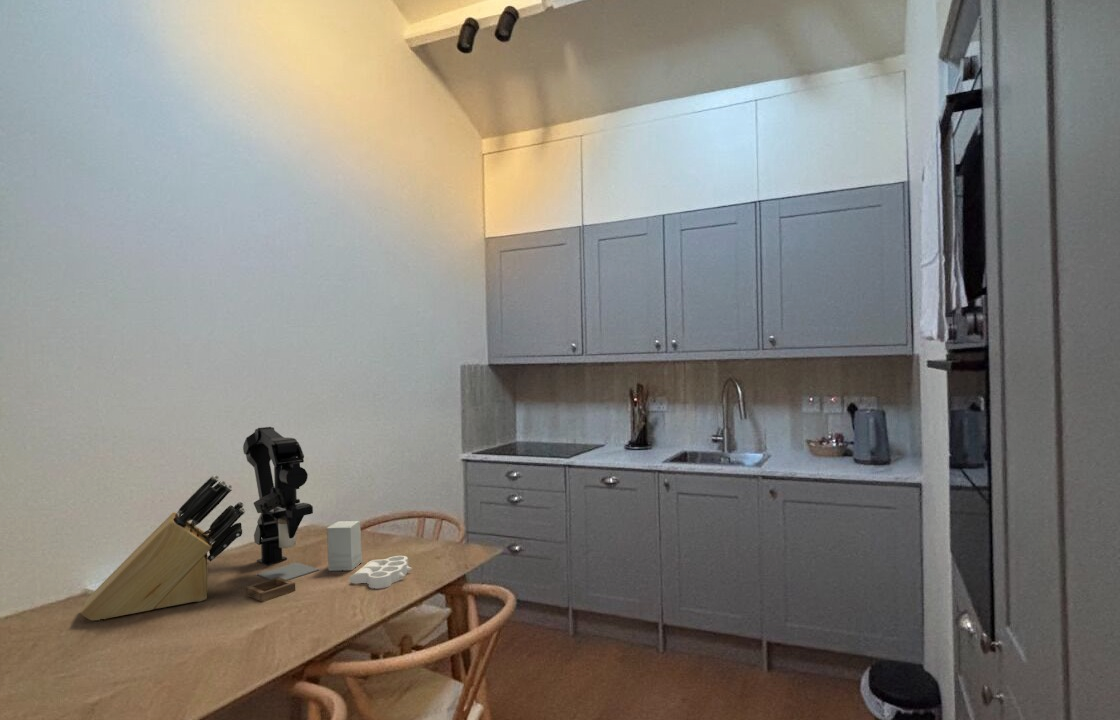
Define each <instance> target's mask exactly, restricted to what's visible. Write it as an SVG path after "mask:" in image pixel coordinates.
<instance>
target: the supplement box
mask: <svg viewBox="0 0 1120 720" xmlns="http://www.w3.org/2000/svg"><path fill="white" fill-rule="evenodd" d="M361 531H362V530H361V521H360V520H353V521H352V520H351V521H350V520H349V521H347V520H345V521H341V520H340V521H339V520H338V521H336V522H334V523H333V524H331V525H329V526H328V527H326V541H327V562H328V563H327V564H328V566H327V567H328V571H330V572H331V571H332V572H333V571H341V572H342V570H343V571H353V570H354V569H356V568H357V567H358V566H359V564H360V563H361V564H362V563H363V557H362V556H363V555H362V534H361V533H362V532H361ZM361 564H360V565H361ZM355 567H356V568H355Z"/></svg>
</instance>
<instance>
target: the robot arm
mask: <svg viewBox="0 0 1120 720" xmlns="http://www.w3.org/2000/svg"><path fill="white" fill-rule="evenodd" d="M242 450H243V454H244V455H245V457H246V458H245V459H246V460H247V463H248V464H250V465H251V466H252V467H253V469H254V474H255V481H256V485H257V493H258V499H257V500H255V501H254V502H253V506H254V508H255V510H256V512H257V514H259V517H258V519H257V525H256V528H255V531H254V534H253V540H254V543H255V544H256V545H258V546H260V551H261V558H258V559H257V560H256V563H260V564H261V565H266V566H269V565H272V564H276V563H279V562H283V561H286V560H287V559H288V557H286V556H283V548H279V529H278V518H281V517H282V518H284V519H285V520H286V521H287V527H288V534H289V538H293V537H294V535H295V536H296V533H297V531H298V529H299V526H300V524H301V523H302V521H303V518H304V516H308V515H312V514H314V506H313V505H311V504H310V503H309V502H308V503H307V502H301V500H300V499H299V498H298V497H297V493H298V492H297V490H300V488H301V487H302V486H304V485H305V483H306V482H307V481H308V477H309V476H308V475H309V474H308V473H307V470H306V469H305V468H303V467H302V466H301V463H305V460H304V458H305V455H304V452H303V449H302V447H301V445H300V443H299V442H298V440H297V439H296V438H294V437H284V436H282V435H281V434H280V433H279V432H277V431H276V430H275V428H274V427H272V426H265V427H258V428H256V429H254V432H253V433H252V434H250V435H248V436H247V437H246V438H245V440H244V442H243V446H242ZM271 462H272V464H273V466H274V467H273V473H274V475H273V474H272V468H271ZM273 477H274V480H273Z"/></svg>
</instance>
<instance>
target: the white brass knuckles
mask: <svg viewBox="0 0 1120 720" xmlns="http://www.w3.org/2000/svg"><path fill="white" fill-rule="evenodd" d="M412 569H413V567H410V566H409V558H408V557H407V556H406V555H396V556H395V555H394V556H390V557H388V558H384V559H372V560H370V561H368V562H367V563H365V565H363V566H362V567H361V568H358V570H357V571H356V572H354V573H353V574H351V575H350V576H349V577H348V578H349V579H348V580H349V582H350V583H351V584H353V583H367V584H366V585H368V584H369V585H368V587H369V588H370V589H374V588H375V589H384V588H387V587H388V588H389V587H391V585H392V584H393V583H397V582H400V581H402V580H403V578H404V577H406V575H408V572H409V571H411V570H412Z"/></svg>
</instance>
